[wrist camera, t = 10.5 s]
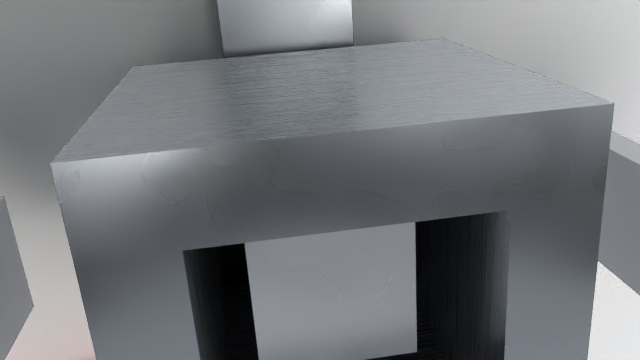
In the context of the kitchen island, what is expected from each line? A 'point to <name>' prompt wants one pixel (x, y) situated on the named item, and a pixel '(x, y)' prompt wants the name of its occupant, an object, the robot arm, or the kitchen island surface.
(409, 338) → the ratchet
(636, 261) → the robot arm
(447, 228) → the hollow square tube
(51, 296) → the kitchen island surface
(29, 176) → the kitchen island surface
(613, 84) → the kitchen island surface
